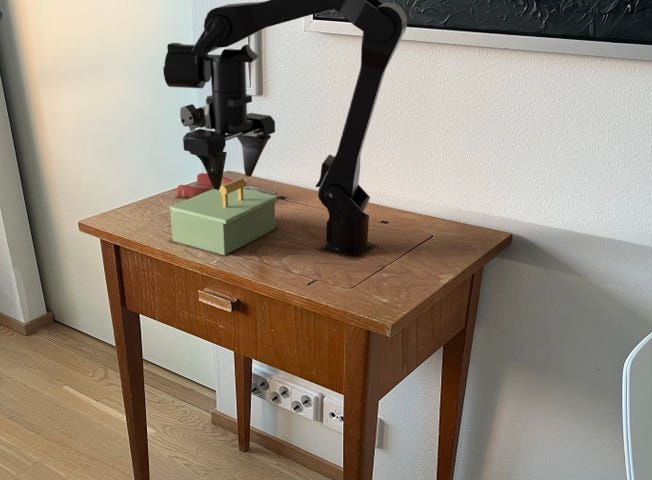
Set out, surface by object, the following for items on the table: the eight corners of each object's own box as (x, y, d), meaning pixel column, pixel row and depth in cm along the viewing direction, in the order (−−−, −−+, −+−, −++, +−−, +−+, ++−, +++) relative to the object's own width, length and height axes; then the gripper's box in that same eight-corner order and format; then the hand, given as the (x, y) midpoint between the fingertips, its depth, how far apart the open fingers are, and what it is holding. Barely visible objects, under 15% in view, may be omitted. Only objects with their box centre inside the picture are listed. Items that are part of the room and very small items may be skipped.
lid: (277, 199, 134) (277, 175, 132) (226, 224, 123) (224, 198, 121) (223, 188, 140) (222, 164, 138) (169, 210, 129) (167, 185, 127)
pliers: (262, 209, 147) (262, 196, 145) (174, 197, 153) (173, 185, 152) (284, 193, 156) (284, 181, 154) (200, 182, 162) (199, 170, 161)
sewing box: (275, 228, 137) (274, 199, 135) (224, 255, 126) (223, 223, 124) (224, 216, 143) (223, 188, 140) (172, 241, 132) (170, 210, 129)
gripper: (225, 76, 131) (228, 163, 139) (153, 93, 118) (162, 188, 126) (276, 82, 126) (277, 172, 134) (207, 101, 112) (213, 200, 120)
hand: (232, 182), depth 128 cm, fingers open, 9 cm apart
